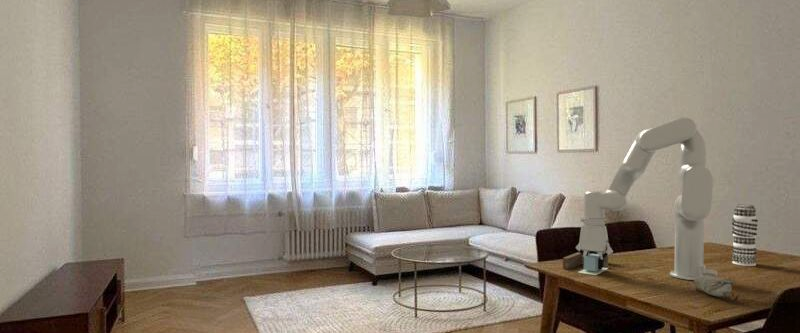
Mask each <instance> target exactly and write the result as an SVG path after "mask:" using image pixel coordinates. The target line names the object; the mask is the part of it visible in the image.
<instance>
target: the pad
mask: <svg viewBox="0 0 800 333" xmlns="http://www.w3.org/2000/svg"><path fill="white" fill-rule="evenodd" d="M608 270H609V267H604V268H602V269H599V270H597V271H589V270H584V268H583V269H581V270H580V271H577V273H579V274H582V275H584V274H585V275H590V276H591V275H592V276H597V275H599V274H602V273H603V272H605V271H608Z"/></svg>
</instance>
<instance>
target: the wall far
mask: <svg viewBox="0 0 800 333" xmlns="http://www.w3.org/2000/svg"><path fill="white" fill-rule="evenodd" d="M579 252H580V251H578V252H575V253H572V254H569V255H566V256H564V257H562V269H563V270H570V269H573V268H575V267H577V266H579V265H582V264H581V253H579Z"/></svg>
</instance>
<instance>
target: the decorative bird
mask: <svg viewBox="0 0 800 333" xmlns="http://www.w3.org/2000/svg"><path fill="white" fill-rule="evenodd" d="M736 282H737V281H736V280H735V279H728V278H721V277H717V276H712V275H708V276H706V275H699V276H697V277H696V278H695V280H693V285H694V286H693V288H694V289H695V290H696V291H699V290H702V291H703V292H705V293H706V294H707V295H710V296H713V297H719V298H721V297H725V298H726V299H725V300H724V302H729V303H731V298H730V296H731V295H732V297H733V299H732V302H733V303H734V302H739V301H738V300H739V298H738V296H739V295H738V294H737V295H736V296H735V295H734V293H733V292H732V289H733V288H732V285H733V284H735V283H736ZM729 294H731V295H729Z"/></svg>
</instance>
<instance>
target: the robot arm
mask: <svg viewBox="0 0 800 333" xmlns="http://www.w3.org/2000/svg"><path fill="white" fill-rule="evenodd" d="M676 144H677V146H678V148H679V165H678V166H679V167H678V175H677V180H678V183H679V185H680V186H681V187H682V191H681V192H682V193H681V194H680V195H678V196H677V198H676V199H675V201H674V204H673V215H674V216H673V217H674V264H673V266H674V269H673V270H670V271H669V276H670V277H673V278H676V279H681V280H686V281H687V280H688V281H694V280H695V278H696V277H697V276H699V275H706V276H713V277H717V276H718V271H717V270H714V269H708V268H706V265H705V264H704V247H705V246H704V244H705V243H704V241H705V239H704V238H705V226H704V225H705V224H704V220H705V219H706V218H707V217H708V216H709V215H710V212H711V209H712V204H713V203H712V201H713V188H714V179H713V178H714V177H713V175H712V172H711V171H710V169H709V168H707V167H706V161H707V158H706V157H707V155H706V154H707V152H706V151H707V147H706V142H705V140H704V137H703V136H702V134H701V133H700V131H699V130H698V129H697V125H696V122H695V121H694V120H693V119H691V118H690V117H687V116H685V117H684V116H681V117H676V118H673V119H671V120H670V121H668V122H664V123H662V124H660V125H656V126H653V127H651V128H647V129H644V130H640V132H639V133H638V134H637V135H636V136H635V138H634V140H633V142H632V143H631V146H630V148H629V150H628V152H627V154H626V155H625V157H624V159H623V160H622V162H621V164H620V166H619V168H618V170H617V172H616V173H615V175H614V177H613V178H612V180H611V182H610V184H609V186H608V188H607V189H606V191H600V190H588V191H587V190H586V191H585V192H584V197H583V201H584V204H583V218H582V217H581V218H580V222H583V224H581V228H580V233H579V234H580V235H579V242H578V244H577V245H576V246H575V249H576V250H577V251H578V252H580V253H581V254H582V255H583V257H585V256H588V254H589V253H590V252H596V253H597V252H598V253H599V257H600V258H599V259H598V269H602V268H603V267H604V258H605V257H606V256H608V257H609V255H611V254H613V252H614V250H613V249H612V247H611V245H610V244H609V245H610V246H609V245H608V243H609V237H608V236H609V235H608V230H607V225H605V210H609V211H615V212H617V211H618V212H619V211H621V210H623V209H624V208H625V207H626V205H627V198H626V197H627V195H628V194H629V191H630V189H631V188H632V186H633V185H634V183H636V181H637V180H639V179H640V178H641V176H643V174H644V173H645V171H646V169H647V168H648V165H649V164H650V162H651V160H652V158H653V156H654V155H655V153H656V151H659V150H662V149H665V148H668V147H671V146H673V145H676ZM606 250H608V251H607V252H606V253H604V251H606ZM604 268H605V267H604Z"/></svg>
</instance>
